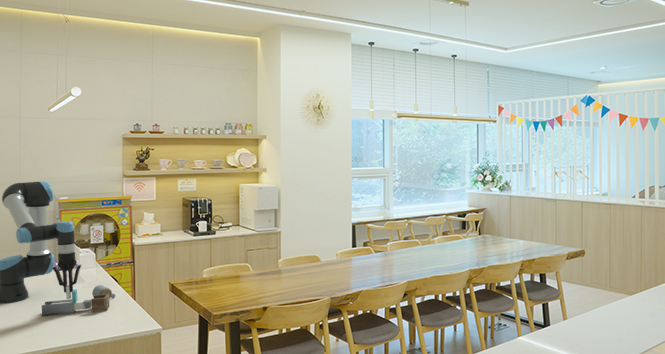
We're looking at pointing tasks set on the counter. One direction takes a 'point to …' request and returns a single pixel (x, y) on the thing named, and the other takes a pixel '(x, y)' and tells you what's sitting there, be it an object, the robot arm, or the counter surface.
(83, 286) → the counter surface
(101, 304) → the socket
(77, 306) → the rod
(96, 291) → the ceramic mug
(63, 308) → the channel
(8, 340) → the counter surface
